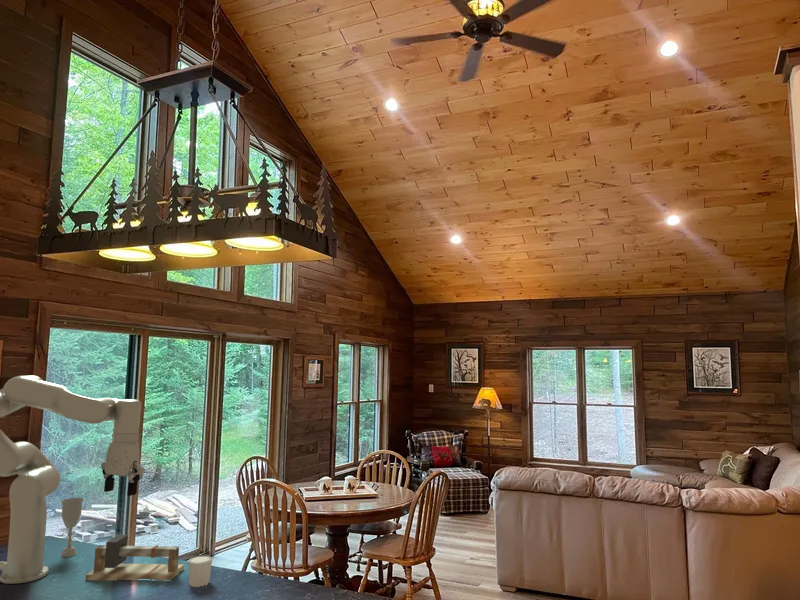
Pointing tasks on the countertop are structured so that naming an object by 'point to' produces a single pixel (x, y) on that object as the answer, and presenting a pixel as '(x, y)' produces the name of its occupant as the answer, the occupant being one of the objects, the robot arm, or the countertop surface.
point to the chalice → (70, 521)
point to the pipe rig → (137, 570)
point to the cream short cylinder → (199, 570)
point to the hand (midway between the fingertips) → (120, 493)
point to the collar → (115, 551)
